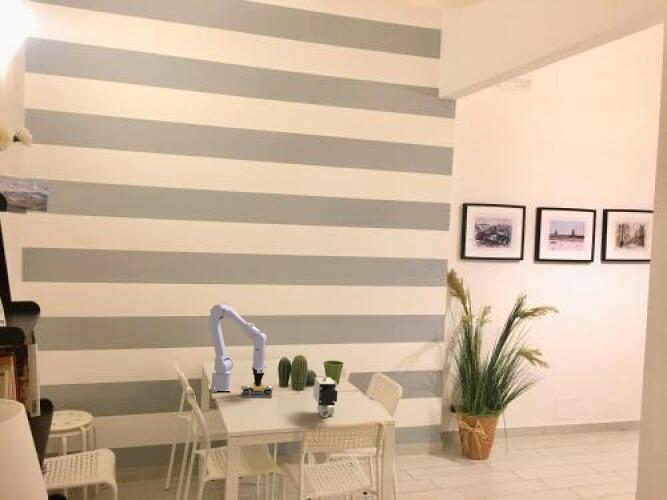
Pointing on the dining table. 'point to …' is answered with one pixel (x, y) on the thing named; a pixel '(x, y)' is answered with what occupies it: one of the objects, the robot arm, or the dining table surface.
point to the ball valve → (325, 395)
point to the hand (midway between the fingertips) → (257, 384)
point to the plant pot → (333, 369)
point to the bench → (250, 394)
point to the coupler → (257, 387)
